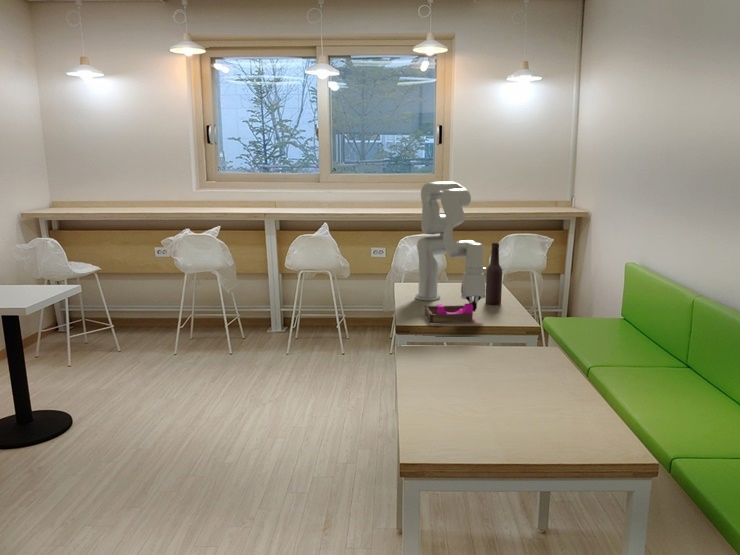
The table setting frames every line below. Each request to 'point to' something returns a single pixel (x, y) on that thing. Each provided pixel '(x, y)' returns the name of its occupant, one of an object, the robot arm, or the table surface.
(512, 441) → the table surface
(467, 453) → the table surface
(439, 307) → the magenta curved block
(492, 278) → the beer bottle
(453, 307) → the walnut bay
